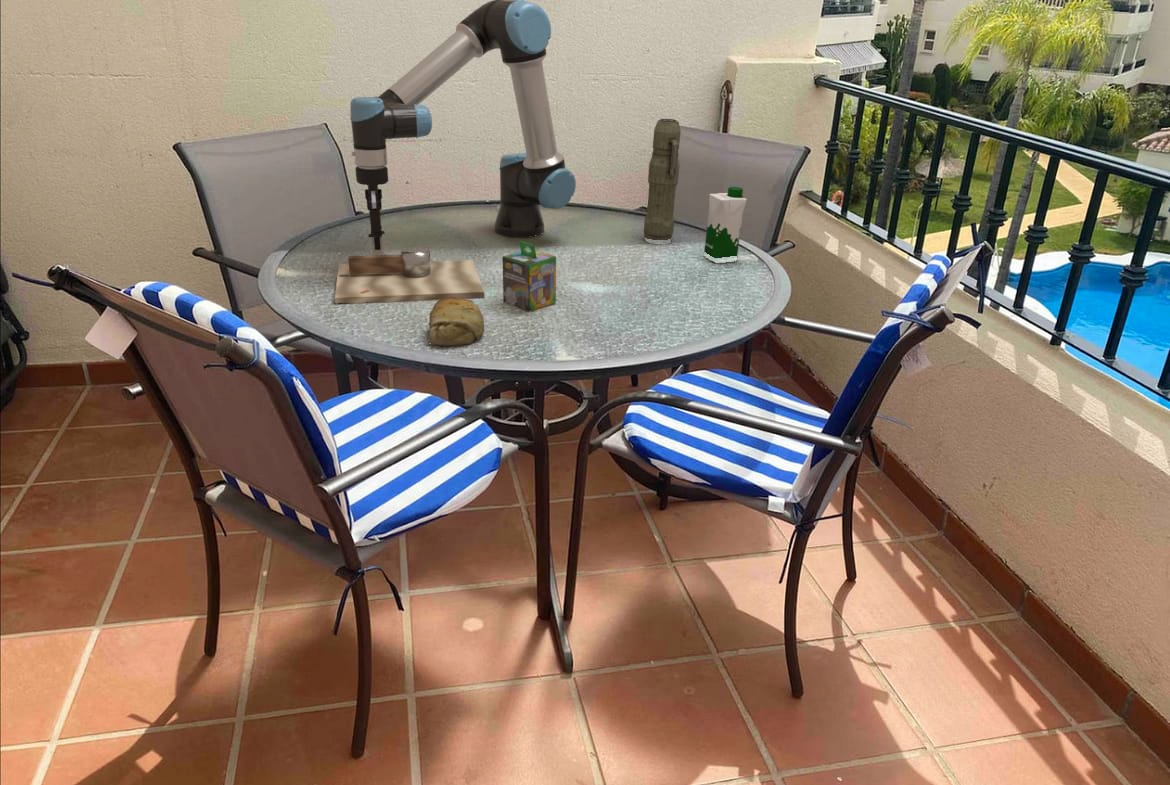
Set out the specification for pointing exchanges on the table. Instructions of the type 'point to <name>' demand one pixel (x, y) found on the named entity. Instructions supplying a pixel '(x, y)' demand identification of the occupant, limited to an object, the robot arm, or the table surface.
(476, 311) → the pastry
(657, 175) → the thermos
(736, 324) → the table surface
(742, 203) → the milk carton
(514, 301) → the chalk box
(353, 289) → the dial board
